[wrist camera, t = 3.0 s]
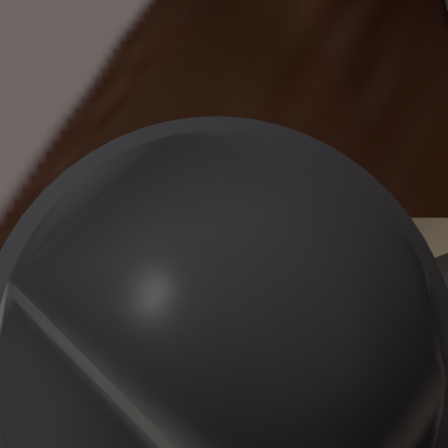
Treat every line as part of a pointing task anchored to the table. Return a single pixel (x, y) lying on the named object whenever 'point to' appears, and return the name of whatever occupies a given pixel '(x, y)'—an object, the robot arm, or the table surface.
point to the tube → (220, 300)
